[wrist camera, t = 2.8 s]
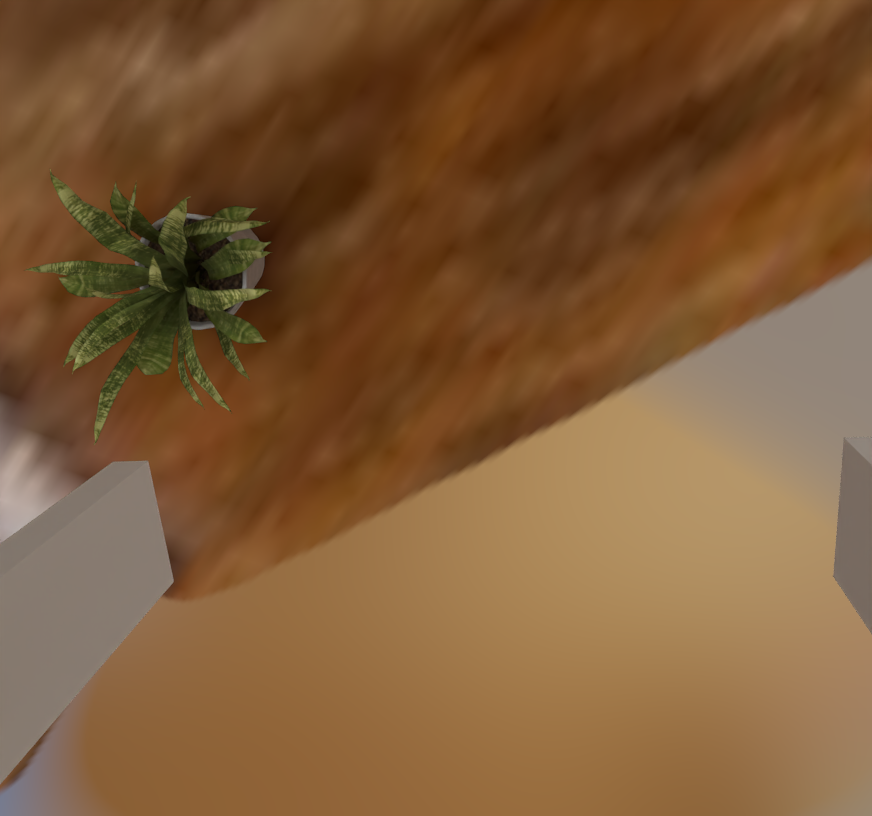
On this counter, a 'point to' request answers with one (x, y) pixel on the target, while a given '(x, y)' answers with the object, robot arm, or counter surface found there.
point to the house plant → (163, 288)
